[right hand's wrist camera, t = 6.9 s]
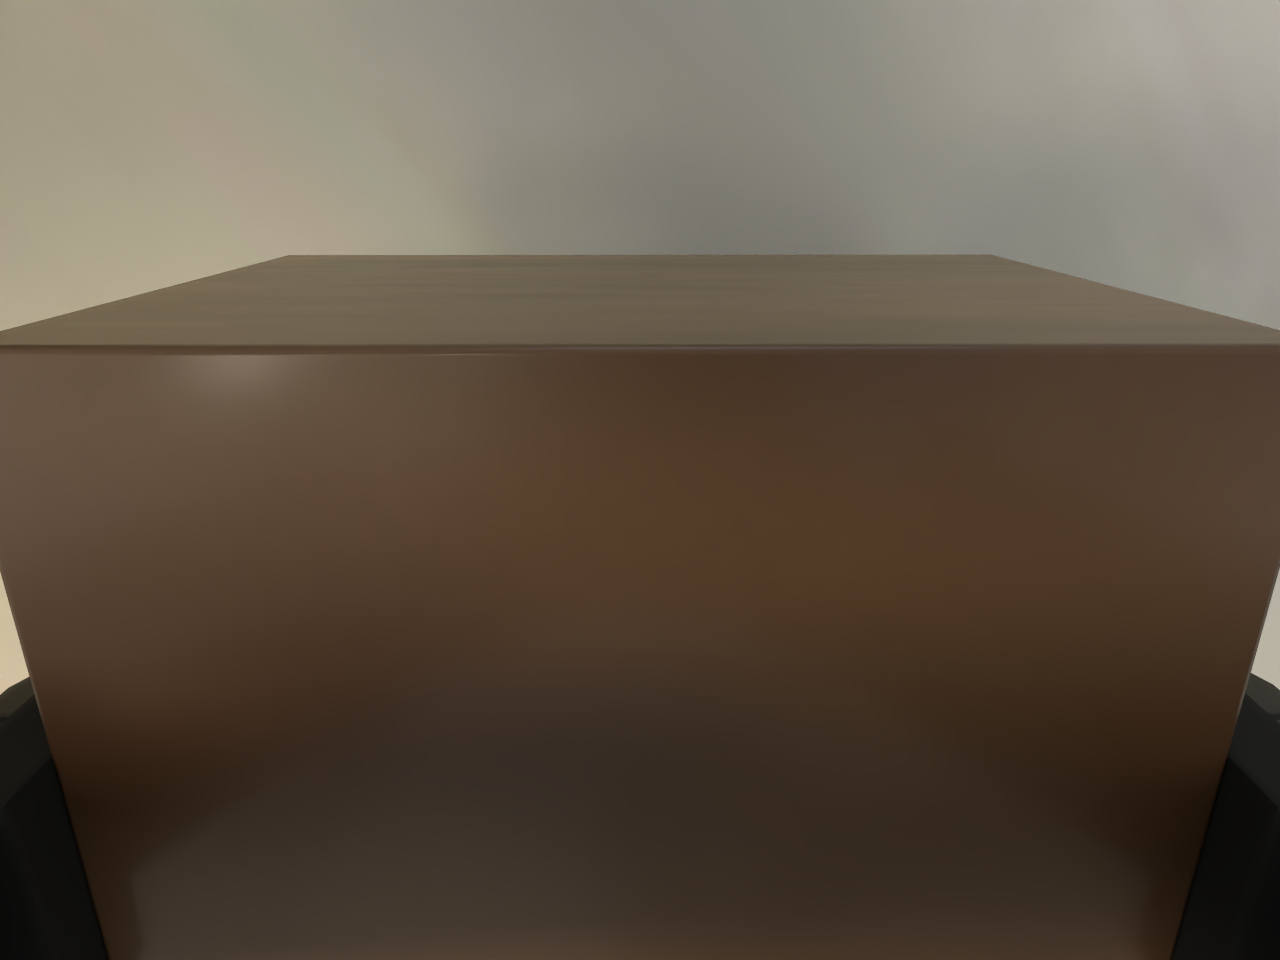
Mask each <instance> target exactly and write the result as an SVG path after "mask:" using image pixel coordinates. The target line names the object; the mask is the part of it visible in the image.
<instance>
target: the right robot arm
mask: <svg viewBox="0 0 1280 960" xmlns="http://www.w3.org/2000/svg"><path fill="white" fill-rule="evenodd" d="M0 960H108V956H107V952H106V949H105V945H104V942H103V938H102V934H101V931H100V927H99V924H98V920H97V917H96V913H95V909H94V906H93V902H92V899H91V895H90V891H89V888H88V884H87V881H86V877H85V873H84V870H83V866H82V863H81V859H80V855H79V852H78V848H77V845H76V841H75V837H74V834H73V830H72V827H71V823H70V820H69V816H68V812H67V809H66V805H65V802H64V798H63V794H62V791H61V787H60V784H59V780H58V776H57V773H56V769H55V766H54V762H53V758H52V755H51V751H50V748H49V744H48V740H47V737H46V733H45V730H44V726H43V723H42V719H41V715H40V712H39V708H38V705H37V701H36V697H35V694H34V690H33V687H32V683H31V679H30V677H28V678H26V679H24V680H22V681H21V682H19V683H17V684H15V685H13V686H11V687H9V688H8V689H7V690H5V691H4V692H3V693H2V694H1V695H0ZM1171 960H1280V690H1279V689H1278V688H1276V687H1275V686H1274V685H1273V684H1271V683H1269V682H1267V681H1265V680H1263V679H1261V678H1259V677H1257V676H1256V675H1254V674H1252V673H1250V677H1249V680H1248V684H1247V687H1246V691H1245V695H1244V698H1243V702H1242V706H1241V709H1240V713H1239V716H1238V720H1237V724H1236V727H1235V731H1234V735H1233V738H1232V742H1231V745H1230V749H1229V753H1228V756H1227V760H1226V764H1225V767H1224V771H1223V774H1222V778H1221V782H1220V785H1219V789H1218V793H1217V796H1216V800H1215V803H1214V807H1213V811H1212V814H1211V818H1210V822H1209V825H1208V829H1207V832H1206V836H1205V840H1204V843H1203V847H1202V851H1201V854H1200V858H1199V861H1198V865H1197V869H1196V872H1195V876H1194V880H1193V883H1192V887H1191V890H1190V894H1189V898H1188V901H1187V905H1186V909H1185V912H1184V916H1183V919H1182V923H1181V927H1180V930H1179V934H1178V938H1177V941H1176V945H1175V948H1174V952H1173V956H1172V959H1171Z"/></svg>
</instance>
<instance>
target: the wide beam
mask: <svg viewBox="0 0 1280 960" xmlns="http://www.w3.org/2000/svg"><path fill="white" fill-rule="evenodd" d="M1279 568H1280V330H1276V329H1272V328H1269V327H1265V326H1261V325H1257V324H1253V323H1250V322H1246V321H1242V320H1238V319H1234V318H1230V317H1227V316H1223V315H1219V314H1215V313H1211V312H1207V311H1204V310H1200V309H1196V308H1192V307H1188V306H1185V305H1181V304H1177V303H1173V302H1169V301H1165V300H1162V299H1158V298H1154V297H1150V296H1146V295H1142V294H1139V293H1135V292H1131V291H1127V290H1123V289H1120V288H1116V287H1112V286H1108V285H1104V284H1100V283H1097V282H1093V281H1089V280H1085V279H1081V278H1077V277H1074V276H1070V275H1066V274H1062V273H1058V272H1055V271H1051V270H1047V269H1043V268H1039V267H1035V266H1032V265H1028V264H1024V263H1020V262H1016V261H1012V260H1009V259H1005V258H1001V257H997V256H993V255H288V256H284V257H281V258H277V259H273V260H269V261H265V262H262V263H258V264H254V265H250V266H246V267H243V268H239V269H235V270H231V271H227V272H224V273H220V274H216V275H212V276H209V277H205V278H201V279H197V280H193V281H190V282H186V283H182V284H178V285H174V286H171V287H167V288H163V289H159V290H155V291H152V292H148V293H144V294H140V295H136V296H133V297H129V298H125V299H121V300H117V301H114V302H110V303H106V304H102V305H98V306H95V307H91V308H87V309H83V310H79V311H76V312H72V313H68V314H64V315H60V316H57V317H53V318H49V319H45V320H41V321H38V322H34V323H30V324H26V325H22V326H19V327H15V328H11V329H7V330H3V331H0V572H1V575H2V579H3V582H4V586H5V590H6V593H7V597H8V600H9V604H10V608H11V611H12V615H13V618H14V622H15V626H16V629H17V633H18V636H19V640H20V643H21V647H22V651H23V654H24V658H25V661H26V665H27V669H28V672H29V676H30V679H31V683H32V687H33V690H34V694H35V697H36V701H37V705H38V708H39V712H40V715H41V719H42V723H43V726H44V730H45V733H46V737H47V740H48V744H49V748H50V751H51V755H52V758H53V762H54V766H55V769H56V773H57V776H58V780H59V784H60V787H61V791H62V794H63V798H64V802H65V805H66V809H67V812H68V816H69V820H70V823H71V827H72V830H73V834H74V837H75V841H76V845H77V848H78V852H79V855H80V859H81V863H82V866H83V870H84V873H85V877H86V881H87V884H88V888H89V891H90V895H91V899H92V902H93V906H94V909H95V913H96V917H97V920H98V924H99V927H100V931H101V934H102V938H103V942H104V945H105V949H106V952H107V956H108V960H1171V959H1172V956H1173V952H1174V948H1175V945H1176V941H1177V938H1178V934H1179V930H1180V927H1181V923H1182V919H1183V916H1184V912H1185V909H1186V905H1187V901H1188V898H1189V894H1190V890H1191V887H1192V883H1193V880H1194V876H1195V872H1196V869H1197V865H1198V861H1199V858H1200V854H1201V851H1202V847H1203V843H1204V840H1205V836H1206V832H1207V829H1208V825H1209V822H1210V818H1211V814H1212V811H1213V807H1214V803H1215V800H1216V796H1217V793H1218V789H1219V785H1220V782H1221V778H1222V774H1223V771H1224V767H1225V764H1226V760H1227V756H1228V753H1229V749H1230V745H1231V742H1232V738H1233V735H1234V731H1235V727H1236V724H1237V720H1238V716H1239V713H1240V709H1241V706H1242V702H1243V698H1244V695H1245V691H1246V687H1247V684H1248V680H1249V677H1250V673H1251V669H1252V666H1253V662H1254V658H1255V655H1256V651H1257V648H1258V644H1259V640H1260V637H1261V633H1262V629H1263V626H1264V622H1265V619H1266V615H1267V611H1268V608H1269V604H1270V600H1271V597H1272V593H1273V590H1274V586H1275V582H1276V579H1277V575H1278V571H1279Z"/></svg>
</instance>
